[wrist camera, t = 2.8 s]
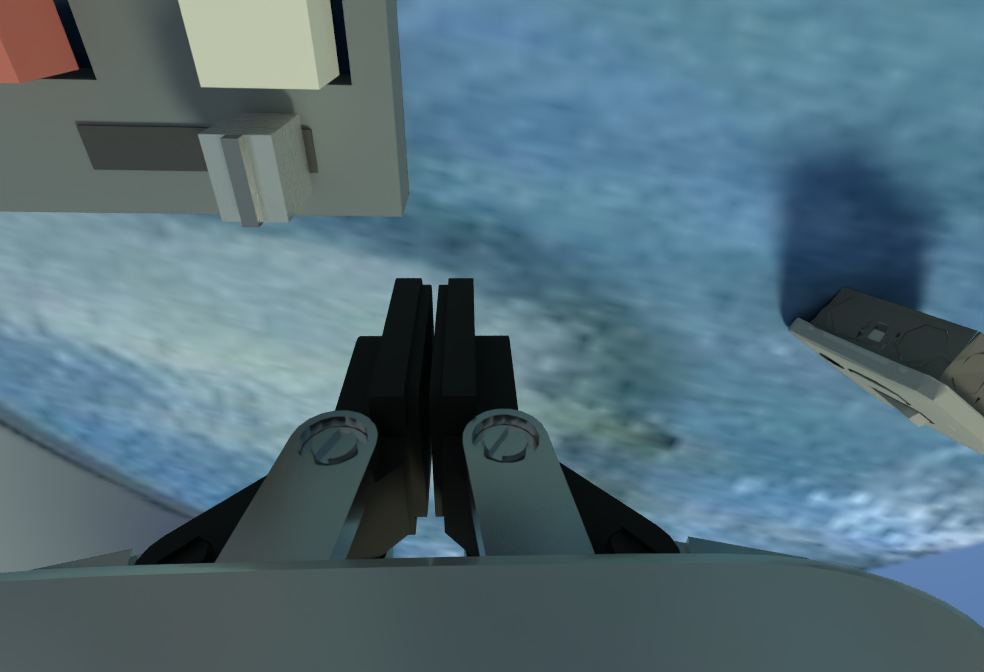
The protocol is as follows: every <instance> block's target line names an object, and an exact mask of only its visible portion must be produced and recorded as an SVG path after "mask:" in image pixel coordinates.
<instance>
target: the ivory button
mask: <svg viewBox="0 0 984 672" xmlns="http://www.w3.org/2000/svg"><path fill="white" fill-rule="evenodd" d="M178 2H179V6H180V10H181V14H182V17H183V21H184V25H185V29H186V33H187V36H188V40H189V44H190V48H191V51H192V55H193V59H194V63H195V67H196V70H197V74H198V78H199V82H200V85H201V87H219V88H267V89H316V90H319V89H321V88H322V87H324V86H325V85H326V84H328V83H329V82H330V81H332V80H333V79H335V78H336V77H337V76H339V67H338V59H337V52H336V44H335V36H334V28H333V20H332V12H331V4H330V0H178Z"/></svg>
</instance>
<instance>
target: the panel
mask: <svg viewBox="0 0 984 672" xmlns="http://www.w3.org/2000/svg"><path fill="white" fill-rule="evenodd" d="M68 2H69V5H70V8H71V10H72V13H73V16H74V19H75V21H76V24H77V27H78V30H79V32H80V35H81V38H82V41H83V43H84V46H85V49H86V52H87V54H88V57H89V60H90V63H91V65H92V68H79V70H74V71H70V72H66V73H62V74H58V75H53V76H49V77H45V78H41V79H37V80H32V81H28V82H24V83H0V211H9V212H86V213H164V214H220V212H219V208H218V204H217V201H216V197H215V194H214V190H213V187H212V183H211V179H210V176H209V172H208V169H207V165H206V162H205V158H204V155H203V151H202V147H201V144H200V140H199V137H198V134H199V133H201V132H202V131H204V130H206V129H208V128H209V127H211V126H213V125H215V124H216V123H218V122H220V121H222V120H223V119H225V118H227V117H229V116H230V115H232V114H234V113H236V112H242V113H294V114H299V117H300V123H301V129H302V134H303V140H304V146H305V152H306V157H307V163H308V169H309V175H310V181H311V186H312V193H311V194H310V195H309V197H308V198H307V199H306V200H305V202H304V203H303V204H302V206H301V207H300V208H299V210H298V211H297V212H296V214H295V215H318V216H396V217H402V215H403V212H404V209H405V206H406V203H407V199H408V196H409V186H408V171H407V156H406V141H405V126H404V111H403V97H402V82H401V67H400V52H399V37H398V23H397V8H396V0H342V4H343V12H344V21H345V29H346V38H347V47H348V55H349V64H350V72H351V73H339V76H337V77H336V78H335V79H333V80H332V81H330V82H329V83H328V84H326V85H325V86H324V87H322V88H321V89H319V90H316V89H267V88H219V87H201V85H200V82H199V78H198V74H197V70H196V67H195V63H194V59H193V55H192V51H191V48H190V44H189V40H188V36H187V33H186V29H185V25H184V21H183V17H182V14H181V10H180V6H179V2H178V0H68Z"/></svg>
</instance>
